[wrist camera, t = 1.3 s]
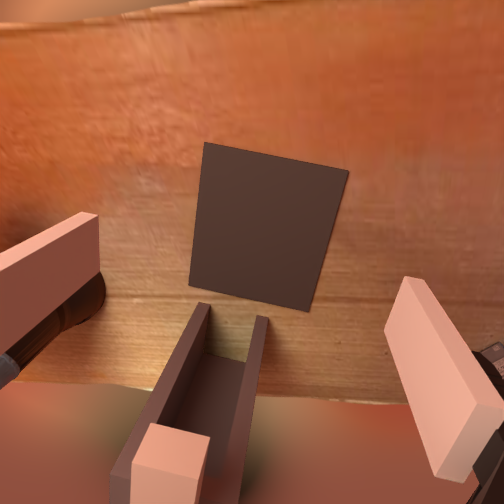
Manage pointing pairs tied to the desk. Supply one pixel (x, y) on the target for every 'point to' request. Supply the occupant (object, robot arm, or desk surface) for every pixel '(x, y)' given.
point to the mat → (263, 225)
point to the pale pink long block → (168, 467)
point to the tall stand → (201, 410)
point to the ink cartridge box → (495, 356)
